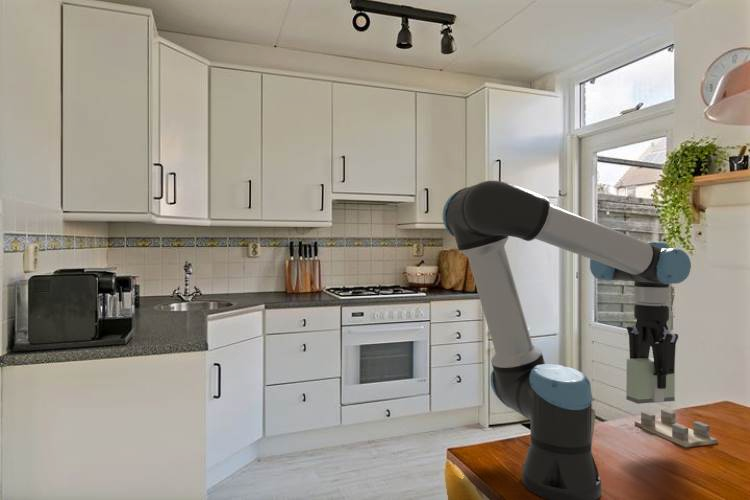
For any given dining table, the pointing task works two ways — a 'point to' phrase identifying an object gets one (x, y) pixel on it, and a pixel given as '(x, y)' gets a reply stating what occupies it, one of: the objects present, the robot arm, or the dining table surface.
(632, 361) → the door panel
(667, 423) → the hinge bracket
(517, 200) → the robot arm
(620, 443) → the dining table surface
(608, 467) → the dining table surface
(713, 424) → the dining table surface
